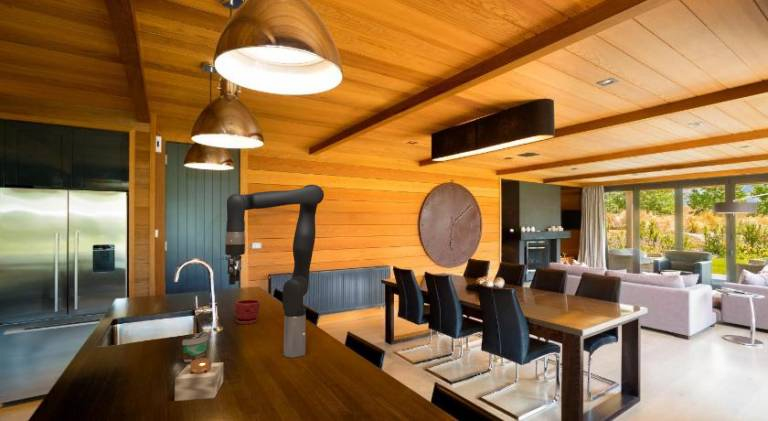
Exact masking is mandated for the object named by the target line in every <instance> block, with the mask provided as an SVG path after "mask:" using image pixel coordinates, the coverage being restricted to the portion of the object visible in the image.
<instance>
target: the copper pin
mask: <svg viewBox="0 0 768 421" xmlns="http://www.w3.org/2000/svg"><path fill="white" fill-rule="evenodd" d="M211 363H212V358H209V357H205V358H200V359H196V360H193V361H192V362H191V363H190V364H189V365H190V373H192V374H202V373H207V372H208V371H210V370H211Z"/></svg>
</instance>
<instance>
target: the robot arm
mask: <svg viewBox="0 0 768 421" xmlns="http://www.w3.org/2000/svg"><path fill="white" fill-rule="evenodd" d="M324 198H325V192H324V190H323V188H321V187H320V186H319V185H318V184H307V185H305V186H304V187H301V188H297V189H296V188H295V189H290V190H289V189H288V190H267V191H258V192H252V193H247V194H245V193H244V194H238V193H234V194H233V193H232V194H231V195H229V196H228V198H227V200H226V215H227V216H226V218H227V219H226V227H225V228H226V231H225V232H226V234H225V241H224V242H225V244H224V245H225V247H224V254H225V255H226V256H230V258H228V259H227V275H228V284H229V285H230V286H231V285H232V286H233V285H235V284H236V282H239V281H240V278H241V276H240V274H241V271H242V255H245V253H246V232H245V231H246V223H245V222H246V221H245V217H246V216H245V215H246V211H249V210H260V209H261V210H262V209H270V208H278V207H285V206H289V205H290V206H291V205H299V211H298V218H297V222H296V227H295V230H294V236H293V241H292V256H293V263H294V264H293V265H294V266H293V271H292V276H291V278H290V279H288V280H286V281H285V283H283V286H282V310H283V312H284V315H283V316H284V317H283V318H284V319H283V325H284V326H283V356H284V357H286V358H298V357H302V356H303V357H304V356H306V337H307V336H306V334H307V333H306V328H307V327H306V319H307V318H306V317H307V315H306V314H307V308H306V307H305V306H304V296H305V295H306V294H307V293H308V291H309V284H310V269H311V264H312V260H313V258H312V257H313V254H314V253H313V252H314V248H315V242H316V213H317V208H318V206H319V204H321V202H322V201H323V200H324Z"/></svg>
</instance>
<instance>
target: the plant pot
mask: <svg viewBox="0 0 768 421" xmlns="http://www.w3.org/2000/svg"><path fill="white" fill-rule="evenodd" d="M260 307H261V301H260V300H257V299H243V300H237V301H236V302H235V309H234V310H235V315H236V317H237V318H236V319H235V322H236V323H237V324H239V325H251V324H254V323H256V322H257V321H258V315H259V313H260Z"/></svg>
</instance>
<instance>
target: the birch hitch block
mask: <svg viewBox="0 0 768 421" xmlns="http://www.w3.org/2000/svg"><path fill="white" fill-rule="evenodd" d="M223 382H224V362H211V370H210V371H208V372H207V373H202V374H192V373H190V364H186V366H185V367H184V368H183V369H182V370H181V372H179V374H178V375H177V376H176V378H175V379H174V402H178V401H180V402H181V401H193V400H205V399H206V400H207V399H215V397H216V396H217V394H218V392H219V390H220V388H221V386H222V385H223Z"/></svg>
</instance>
